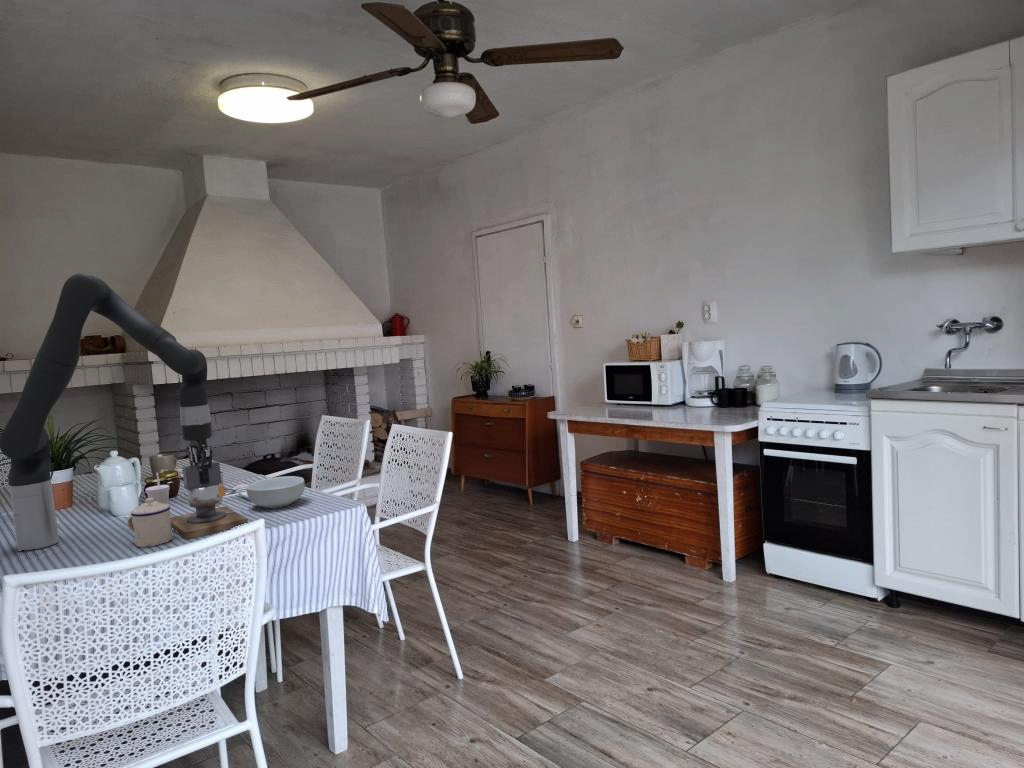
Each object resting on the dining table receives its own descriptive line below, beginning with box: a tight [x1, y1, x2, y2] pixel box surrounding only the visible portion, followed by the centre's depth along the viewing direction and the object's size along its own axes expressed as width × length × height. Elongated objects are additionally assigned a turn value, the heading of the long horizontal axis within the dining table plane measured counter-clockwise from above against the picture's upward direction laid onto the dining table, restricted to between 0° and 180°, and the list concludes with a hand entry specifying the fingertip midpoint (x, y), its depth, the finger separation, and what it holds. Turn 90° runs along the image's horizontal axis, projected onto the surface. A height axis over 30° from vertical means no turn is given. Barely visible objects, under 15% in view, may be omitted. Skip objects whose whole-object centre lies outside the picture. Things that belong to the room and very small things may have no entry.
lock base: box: [170, 504, 249, 540], centre depth 194 cm, size 16×20×6 cm
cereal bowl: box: [245, 475, 306, 509], centre depth 212 cm, size 17×17×7 cm
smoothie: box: [145, 472, 171, 505], centre depth 203 cm, size 6×6×14 cm
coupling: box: [181, 460, 226, 508], centre depth 193 cm, size 10×8×11 cm
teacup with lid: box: [126, 497, 173, 548], centre depth 181 cm, size 12×9×12 cm
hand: (202, 482), depth 193 cm, fingers closed on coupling, 3 cm apart
